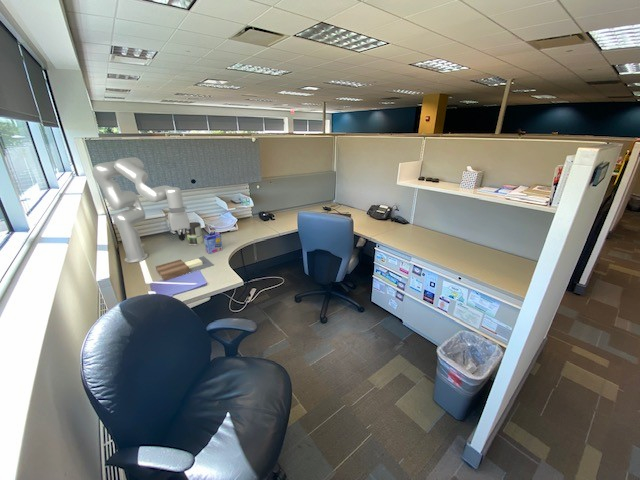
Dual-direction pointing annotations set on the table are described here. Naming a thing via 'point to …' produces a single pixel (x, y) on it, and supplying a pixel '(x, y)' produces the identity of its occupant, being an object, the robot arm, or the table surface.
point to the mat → (205, 264)
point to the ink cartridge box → (213, 242)
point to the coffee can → (194, 234)
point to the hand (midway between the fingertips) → (182, 239)
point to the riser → (172, 269)
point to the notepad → (193, 263)
